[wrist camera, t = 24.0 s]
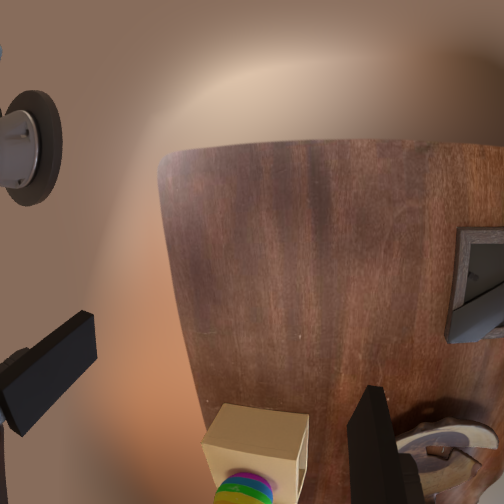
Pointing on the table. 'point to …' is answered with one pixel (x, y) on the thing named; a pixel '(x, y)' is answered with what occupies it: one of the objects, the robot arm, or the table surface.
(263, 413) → the tan cardboard box
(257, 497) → the decorative egg
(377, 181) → the table surface
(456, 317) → the picture frame
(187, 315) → the table surface
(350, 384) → the table surface
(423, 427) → the grey frying pan
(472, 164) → the table surface
